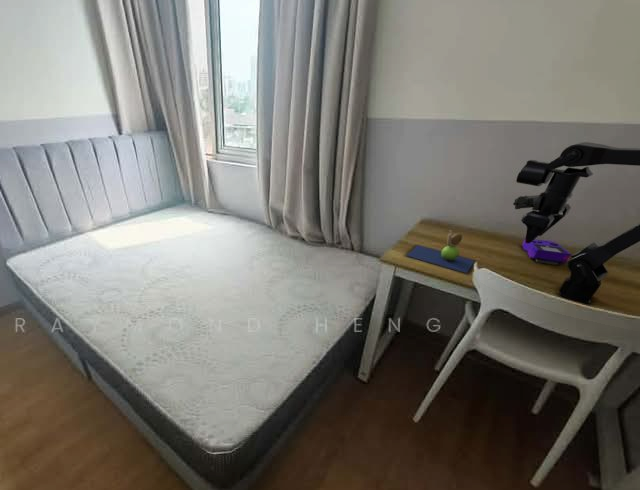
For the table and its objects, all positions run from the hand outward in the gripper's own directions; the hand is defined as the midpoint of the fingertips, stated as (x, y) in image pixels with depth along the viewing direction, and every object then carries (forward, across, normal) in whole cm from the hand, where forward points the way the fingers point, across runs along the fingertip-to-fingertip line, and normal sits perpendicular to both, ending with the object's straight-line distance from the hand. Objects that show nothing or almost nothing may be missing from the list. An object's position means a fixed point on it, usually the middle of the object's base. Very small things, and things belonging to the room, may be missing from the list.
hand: (533, 239), depth 98 cm
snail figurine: (+13, +8, -18) cm, 24 cm away
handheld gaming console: (+13, -24, 0) cm, 27 cm away
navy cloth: (+13, +8, -21) cm, 26 cm away
